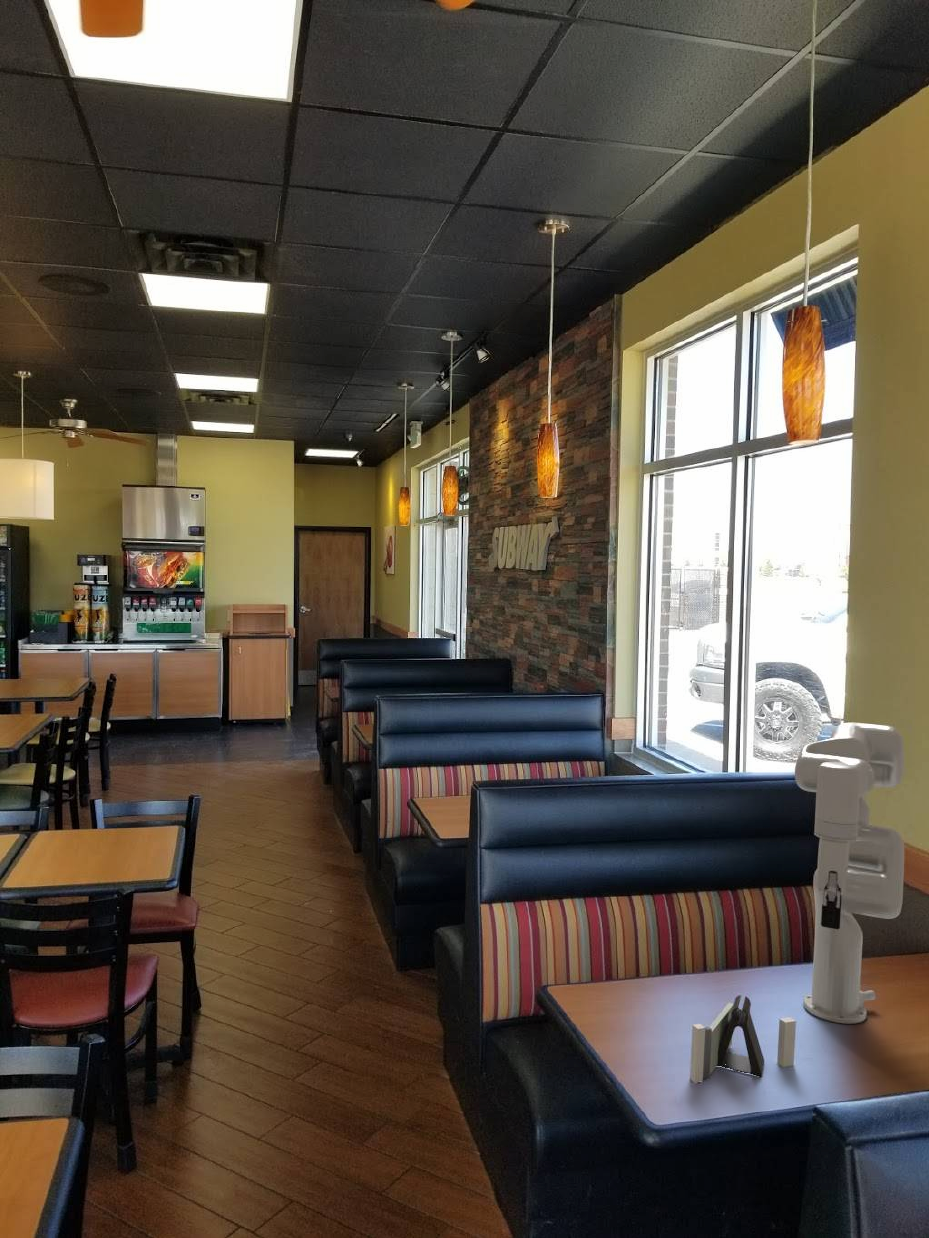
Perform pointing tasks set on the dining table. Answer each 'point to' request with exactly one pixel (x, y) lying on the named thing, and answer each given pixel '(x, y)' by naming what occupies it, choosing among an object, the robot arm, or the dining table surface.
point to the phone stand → (755, 1056)
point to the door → (715, 1040)
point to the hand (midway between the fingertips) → (831, 919)
